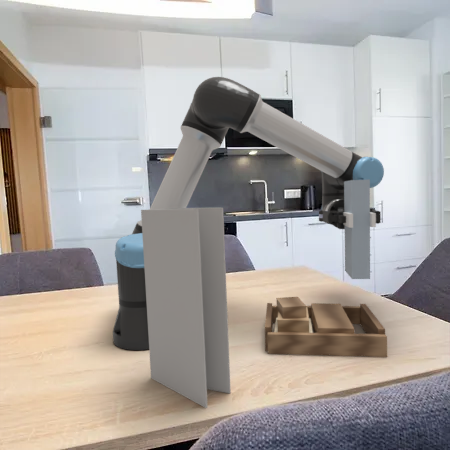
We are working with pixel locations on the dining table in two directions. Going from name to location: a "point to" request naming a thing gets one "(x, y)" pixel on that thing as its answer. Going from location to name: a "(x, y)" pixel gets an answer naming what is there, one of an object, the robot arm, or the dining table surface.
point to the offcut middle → (293, 324)
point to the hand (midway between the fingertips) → (362, 220)
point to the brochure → (187, 300)
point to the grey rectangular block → (357, 229)
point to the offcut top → (291, 307)
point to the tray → (329, 333)
